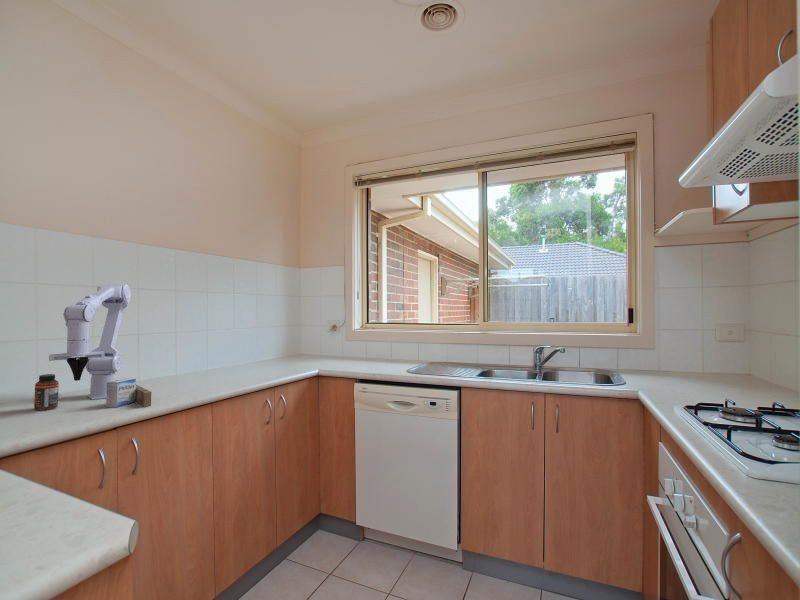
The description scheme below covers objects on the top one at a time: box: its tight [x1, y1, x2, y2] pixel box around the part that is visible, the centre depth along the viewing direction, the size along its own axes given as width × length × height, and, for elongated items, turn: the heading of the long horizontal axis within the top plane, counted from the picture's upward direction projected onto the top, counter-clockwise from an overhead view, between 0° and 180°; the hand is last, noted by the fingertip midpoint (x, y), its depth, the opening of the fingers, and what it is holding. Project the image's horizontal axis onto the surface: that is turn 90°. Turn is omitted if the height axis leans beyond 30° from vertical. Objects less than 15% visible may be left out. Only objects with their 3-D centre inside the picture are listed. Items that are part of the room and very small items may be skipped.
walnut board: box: [135, 384, 152, 408], centre depth 142 cm, size 20×2×5 cm, turn 48°
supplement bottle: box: [33, 373, 60, 411], centre depth 132 cm, size 6×6×11 cm
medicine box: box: [105, 377, 137, 409], centre depth 138 cm, size 8×4×9 cm, turn 170°
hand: (77, 380), depth 133 cm, fingers closed
